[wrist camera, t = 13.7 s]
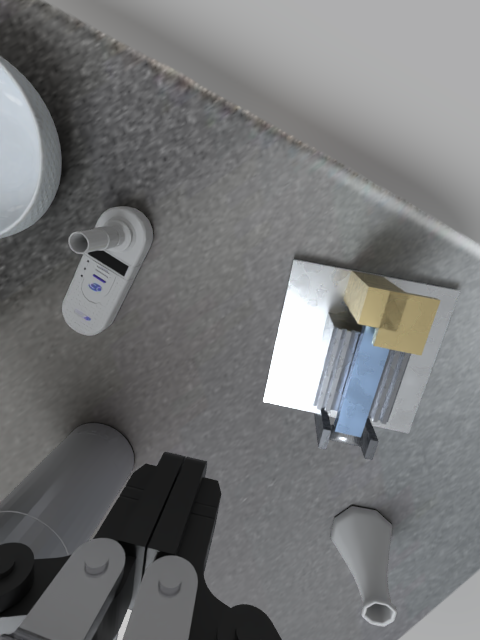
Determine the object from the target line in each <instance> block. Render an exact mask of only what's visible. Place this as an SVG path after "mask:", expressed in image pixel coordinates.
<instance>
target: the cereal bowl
mask: <svg viewBox="0 0 480 640" xmlns="http://www.w3.org/2000/svg"><path fill="white" fill-rule="evenodd" d="M61 160H62V157H61V146H60V142H59V138H58V133H57V131H56V127H55V125H54V121H53V119H52V117H51V115H50V112H49V110H48V109H47V106H46V104H45V103H44V101H43V100H42V98H41V97H40V95H39V93H38V92H37V91H36V90H35V88H34V87H33V86H32V84H31V83H30V82H29V81H28V80H27V79H26V77H25V76H24V75H23V74H21V73H20V72H19V71H18V69H17V68H15V67H14V66H12V65H11V64H10V63H9V62H8V61H7V60H5V59H3V58H2V57H1V56H0V238H3V237H8V236H10V235H14V234H16V233H18V232H21V231H23V230H24V229H26V228H29V227H30V226H31V225H33V224H34V223H35V222H36V221H38V220H39V219H40V218H41V217H42V215H44V213H45V212H46V211H47V209H48V208H49V207H50V205H51V203H52V201H53V199H54V198H55V195H56V192H57V190H58V186H59V182H60V177H61V166H62V162H61Z"/></svg>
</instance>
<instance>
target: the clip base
mask: <svg viewBox="0 0 480 640" xmlns="http://www.w3.org/2000/svg"><path fill="white" fill-rule="evenodd" d="M351 271H356V272H361V273H367V274H372V275H377V276H383V277H384V278H385V279H387V280H388V281H390V282H391V283H393V284H394V285H396V286H397V287H399V288H400V289H402V290H403V291H405V292H407V293H412V294H418V295H423V296H428V297H433V298H437V299H439V300H441V301H440V304H439V307H438V309H437V312H436V315H435V318H434V321H433V324H432V326H431V329H430V332H429V335H428V338H427V341H426V344H425V346H424V349H423V352H422V355H416V354H411V353H406V352H401V351H396V350H391V349H390V350H389V353H388V356H387V359H386V362H385V366H384V369H383V372H382V375H381V378H380V381H379V384H378V387H377V390H376V393H375V396H374V399H373V402H372V405H371V408H370V411H369V414H368V417H367V420H366V423H365V426H364V430H363V442H362V445H361V449H362V452H363V455H364V458H365V459H370V460H372V459H373V456H374V453H375V450H376V447H377V444H378V439H377V436H376V434H375V431H374V429H373V426H377V427H381V428H386V429H390V430H395V431H399V432H404V433H408V434H409V431H410V428H411V425H412V423H413V420H414V417H415V414H416V412H417V409H418V406H419V403H420V401H421V398H422V395H423V392H424V390H425V387H426V384H427V381H428V379H429V376H430V373H431V370H432V368H433V365H434V362H435V360H436V357H437V354H438V351H439V349H440V346H441V343H442V340H443V338H444V335H445V332H446V329H447V327H448V324H449V321H450V318H451V316H452V313H453V310H454V307H455V305H456V302H457V299H458V296H459V294H460V291H459V290H457V289H453V288H448V287H442V286H437V285H432V284H426V283H421V282H416V281H410V280H405V279H400V278H394V277H389V276H384V275H378V274H373V273H368V272H362V271H357V270H352V269H346V268H341V267H336V266H330V265H325V264H320V263H314V262H309V261H304V260H298V259H293V264H292V268H291V273H290V278H289V282H288V287H287V292H286V296H285V301H284V306H283V310H282V315H281V320H280V324H279V329H278V334H277V339H276V343H275V348H274V353H273V357H272V362H271V367H270V371H269V376H268V381H267V385H266V390H265V395H264V400H263V402H268V403H272V404H277V405H282V406H286V407H291V408H295V409H300V410H304V411H309V412H313V413H314V415H315V424H316V432H317V440H318V448H322V449H326V448H327V444H328V441H329V437H330V434H331V427H330V421H329V416H331V417H336V416H337V412H338V409H339V406H340V402H341V399H342V395H343V392H344V389H345V385H346V382H347V378H348V375H349V372H350V368H351V365H352V361H353V358H354V355H355V351H356V348H357V345H358V341H359V338H360V334H361V331H362V328H363V325H361V324H358V323H357V321H356V320H355V318H354V316H353V315H352V313H351V312H350V310H349V308H348V307H347V305H346V303H345V302H344V296H345V292H346V289H347V285H348V281H349V277H350V274H351Z"/></svg>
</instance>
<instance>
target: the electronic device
mask: <svg viewBox="0 0 480 640" xmlns="http://www.w3.org/2000/svg"><path fill="white" fill-rule="evenodd" d="M152 241H153V229H152V226H151V224H150V221H149V220H148V219H147V217H146V216H145V215H144V214H143V213H142V212H141V211H139V210H137V209H136V208H132V207H128V206H119V207H113V208H109V209H108V210H106V211H105V212H103V213H102V215H101V216H100V218H99V219H98V221H97V223H96V226H95V228H93V229H92V230H85V231H78V232H74V233H72V234H71V235H70V237H69V242H68V243H69V246H70V248H71V249H72V250H73V251H74V252H75V253H77V254H83V256H82V258H81V261H80V263H79V265H78V268H77V270H76V272H75V275H74V277H73V279H72V282H71V284H70V287H69V289H68V291H67V294H66V296H65V298H64V301H63V304H62V314H63V316H64V319H65V321H66V323H67V324H68V325H69V326H70V327H71V328H72V329H73V330H75V331H76V332H78V333H80V334H83V335H88V336H92V335H96V334H99V333H100V332H102V331H103V330H105V329H106V328H107V327H109V326H110V325H111V324H112V323H113V321H114V319H115V317H116V315H117V313H118V311H119V309H120V307H121V305H122V303H123V301H124V299H125V297H126V295H127V293H128V291H129V289H130V287H131V285H132V283H133V281H134V279H135V277H136V275H137V273H138V271H139V269H140V267H141V265H142V263H143V261H144V259H145V257H146V255H147V253H148V251H149V249H150V247H151V244H152Z"/></svg>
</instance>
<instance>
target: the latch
mask: <svg viewBox="0 0 480 640" xmlns="http://www.w3.org/2000/svg"><path fill="white" fill-rule="evenodd" d="M440 301H441V300H439V299H437V298H433V297H428V296H423V295H418V294H412V293H407V292H405V291H403V290H402V289H400V288H399V287H397V286H396V285H394V284H393V283H391V282H390V281H388V280H387V279H385V278H384V277H383V276H377V275H372V274H367V273H361V272H356V271H351V274H350V277H349V281H348V285H347V289H346V292H345V296H344V302H345V303H346V305H347V307H348V308H349V310H350V312H351V313H352V315H353V316H354V318H355V320H356V321H357V323H358V324H361V325H366V326H371V327H376V329H375V332H374V335H373V339H372V342H371V343H372V344H373V346H376V347H381V348H386V349H391V350H396V351H401V352H406V353H411V354H416V355H422V352H423V349H424V346H425V344H426V341H427V338H428V335H429V332H430V329H431V326H432V324H433V321H434V318H435V315H436V312H437V309H438V307H439V304H440Z"/></svg>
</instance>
